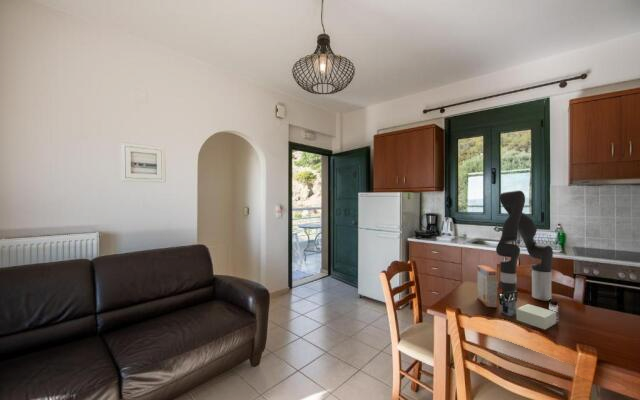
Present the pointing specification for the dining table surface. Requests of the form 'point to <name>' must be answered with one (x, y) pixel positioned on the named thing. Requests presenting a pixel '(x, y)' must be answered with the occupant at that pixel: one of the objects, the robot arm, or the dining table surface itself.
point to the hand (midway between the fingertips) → (508, 311)
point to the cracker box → (487, 286)
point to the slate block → (510, 308)
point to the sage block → (536, 316)
